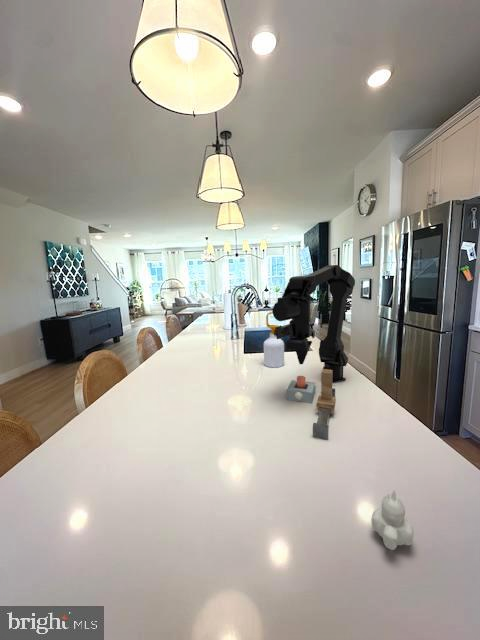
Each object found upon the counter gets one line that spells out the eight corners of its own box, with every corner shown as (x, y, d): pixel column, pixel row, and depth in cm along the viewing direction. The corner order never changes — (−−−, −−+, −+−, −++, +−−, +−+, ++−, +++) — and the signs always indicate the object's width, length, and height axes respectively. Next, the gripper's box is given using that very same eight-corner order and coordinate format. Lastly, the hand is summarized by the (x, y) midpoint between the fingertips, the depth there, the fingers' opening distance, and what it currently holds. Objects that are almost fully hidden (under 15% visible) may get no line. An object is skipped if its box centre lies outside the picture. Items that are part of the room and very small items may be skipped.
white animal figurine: (412, 531, 41) (416, 485, 40) (411, 570, 36) (415, 519, 35) (374, 515, 44) (376, 472, 43) (367, 549, 39) (369, 501, 38)
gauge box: (292, 389, 94) (291, 380, 93) (315, 392, 90) (315, 382, 90) (286, 399, 86) (286, 389, 86) (311, 403, 83) (311, 392, 82)
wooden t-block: (318, 402, 81) (319, 368, 79) (335, 405, 79) (336, 370, 77) (316, 411, 76) (316, 375, 74) (334, 413, 74) (334, 377, 72)
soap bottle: (283, 368, 115) (283, 311, 111) (262, 367, 117) (261, 312, 113) (284, 361, 124) (283, 309, 120) (265, 361, 126) (263, 309, 122)
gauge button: (297, 385, 90) (297, 375, 89) (306, 386, 89) (306, 376, 88) (296, 389, 87) (296, 378, 87) (304, 390, 86) (304, 379, 86)
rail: (323, 396, 87) (323, 387, 87) (335, 398, 86) (335, 388, 85) (312, 436, 66) (312, 425, 66) (327, 439, 65) (328, 427, 64)
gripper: (283, 312, 96) (284, 353, 98) (267, 321, 79) (268, 371, 81) (315, 312, 91) (315, 356, 94) (305, 322, 74) (305, 375, 77)
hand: (301, 363), depth 87 cm, fingers closed
